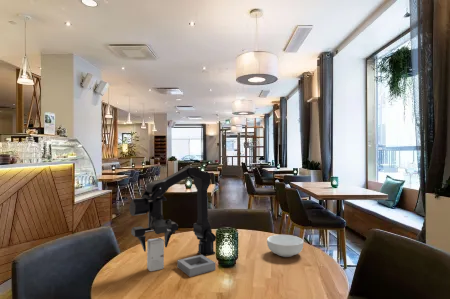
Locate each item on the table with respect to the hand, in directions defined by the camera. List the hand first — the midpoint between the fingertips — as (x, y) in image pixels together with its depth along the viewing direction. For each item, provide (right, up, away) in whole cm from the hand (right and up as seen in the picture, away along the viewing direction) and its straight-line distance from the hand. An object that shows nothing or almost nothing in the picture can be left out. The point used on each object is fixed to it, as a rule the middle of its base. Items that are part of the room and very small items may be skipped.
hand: (155, 249), depth 121 cm
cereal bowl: (+58, -8, +15) cm, 61 cm away
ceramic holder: (+17, -8, -1) cm, 19 cm away
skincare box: (0, -8, 0) cm, 8 cm away
